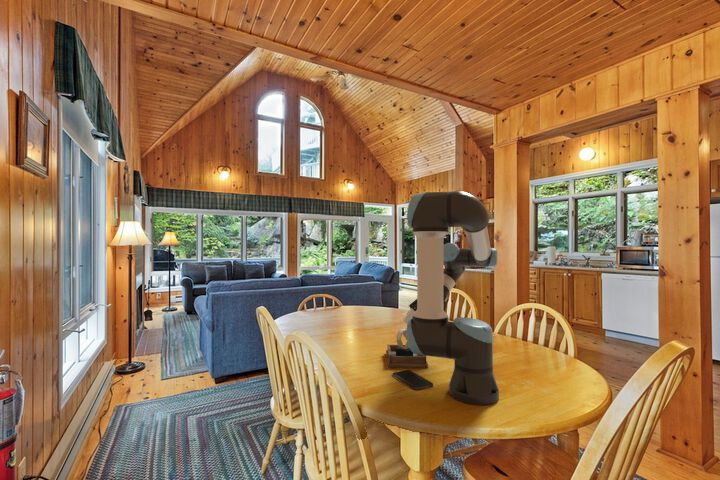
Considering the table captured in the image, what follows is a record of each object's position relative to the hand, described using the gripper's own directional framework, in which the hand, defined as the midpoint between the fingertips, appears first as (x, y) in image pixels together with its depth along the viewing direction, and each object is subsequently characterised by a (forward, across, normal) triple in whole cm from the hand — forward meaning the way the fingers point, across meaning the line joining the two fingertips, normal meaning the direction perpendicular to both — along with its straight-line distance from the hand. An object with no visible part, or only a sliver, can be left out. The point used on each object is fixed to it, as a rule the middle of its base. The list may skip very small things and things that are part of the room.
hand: (414, 325), depth 148 cm
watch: (+12, 0, -4) cm, 13 cm away
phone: (+21, -18, +1) cm, 28 cm away
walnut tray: (+13, 0, -6) cm, 14 cm away
